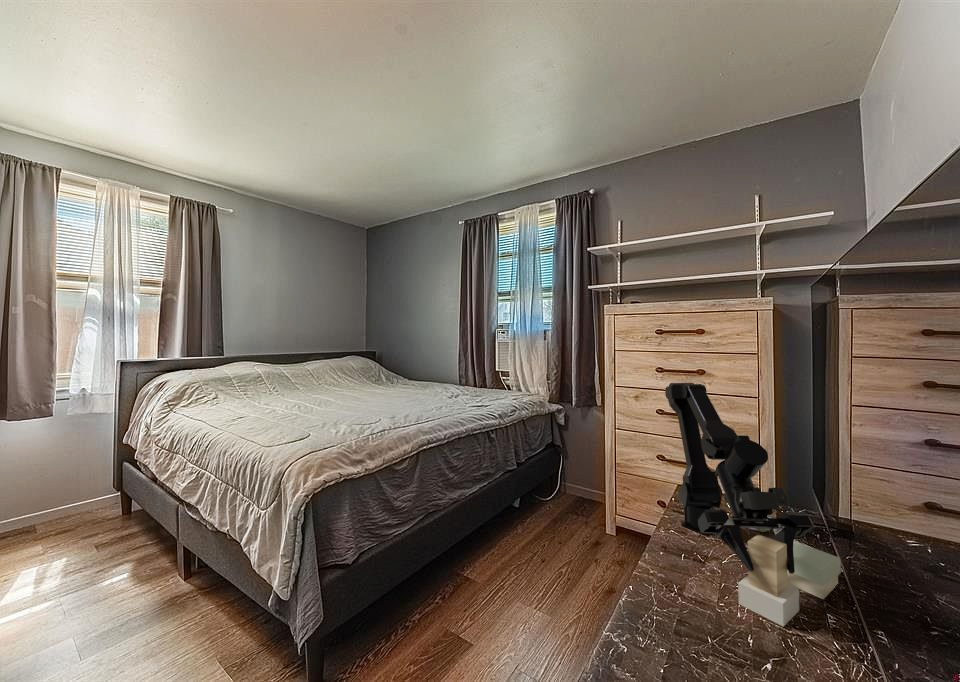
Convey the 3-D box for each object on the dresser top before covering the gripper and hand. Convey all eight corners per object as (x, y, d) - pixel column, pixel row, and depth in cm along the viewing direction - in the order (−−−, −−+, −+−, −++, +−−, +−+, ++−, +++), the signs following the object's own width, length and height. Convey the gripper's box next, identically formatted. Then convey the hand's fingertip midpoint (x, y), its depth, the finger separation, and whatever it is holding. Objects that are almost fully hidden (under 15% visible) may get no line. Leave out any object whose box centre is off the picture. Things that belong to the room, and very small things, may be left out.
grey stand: (738, 603, 72) (738, 582, 72) (755, 590, 76) (755, 569, 76) (783, 626, 66) (782, 603, 66) (799, 610, 70) (798, 588, 70)
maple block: (748, 583, 72) (747, 541, 72) (759, 575, 74) (758, 534, 74) (777, 597, 68) (776, 552, 68) (787, 587, 70) (786, 544, 70)
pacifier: (740, 528, 100) (767, 537, 96) (738, 504, 101) (765, 511, 96) (751, 520, 105) (778, 528, 100) (750, 497, 105) (776, 504, 100)
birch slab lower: (773, 579, 80) (773, 565, 80) (789, 566, 84) (789, 553, 84) (823, 601, 73) (823, 585, 73) (838, 586, 77) (837, 571, 77)
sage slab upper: (774, 564, 80) (773, 550, 80) (792, 553, 84) (792, 540, 84) (822, 586, 73) (822, 570, 73) (840, 573, 77) (840, 558, 77)
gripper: (702, 469, 76) (731, 555, 65) (806, 471, 74) (855, 562, 63) (687, 493, 84) (711, 573, 73) (781, 495, 81) (820, 579, 71)
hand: (772, 572), depth 70 cm, fingers closed on maple block, 6 cm apart
